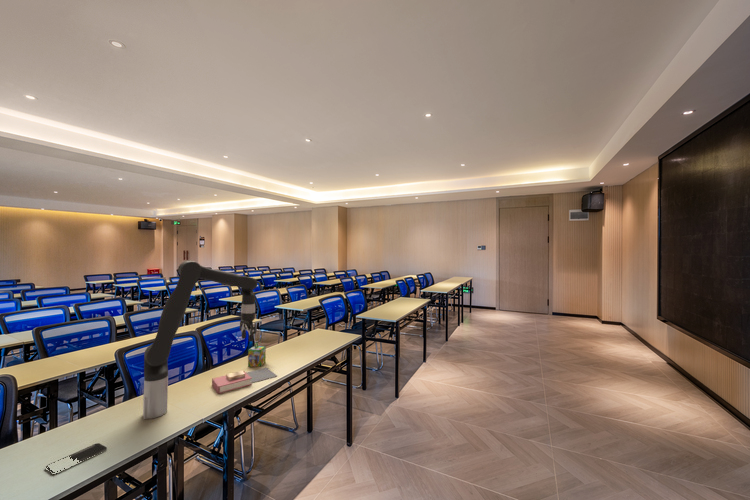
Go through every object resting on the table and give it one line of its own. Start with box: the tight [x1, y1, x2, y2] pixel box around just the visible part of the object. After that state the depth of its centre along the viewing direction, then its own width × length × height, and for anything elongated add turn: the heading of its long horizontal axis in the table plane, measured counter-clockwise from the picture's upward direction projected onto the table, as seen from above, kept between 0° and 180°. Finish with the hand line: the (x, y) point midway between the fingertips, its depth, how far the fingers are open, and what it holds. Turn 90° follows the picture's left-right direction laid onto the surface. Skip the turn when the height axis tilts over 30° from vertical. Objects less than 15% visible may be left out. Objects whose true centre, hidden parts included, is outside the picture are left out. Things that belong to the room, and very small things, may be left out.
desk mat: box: [245, 367, 278, 384], centre depth 188 cm, size 16×18×1 cm
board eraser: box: [225, 370, 245, 381], centre depth 175 cm, size 9×6×2 cm, turn 131°
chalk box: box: [247, 342, 267, 368], centre depth 207 cm, size 9×9×15 cm
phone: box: [45, 443, 108, 473], centre depth 110 cm, size 8×1×15 cm
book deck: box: [211, 370, 253, 395], centre depth 173 cm, size 18×14×4 cm
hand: (247, 339), depth 171 cm, fingers open, 8 cm apart
